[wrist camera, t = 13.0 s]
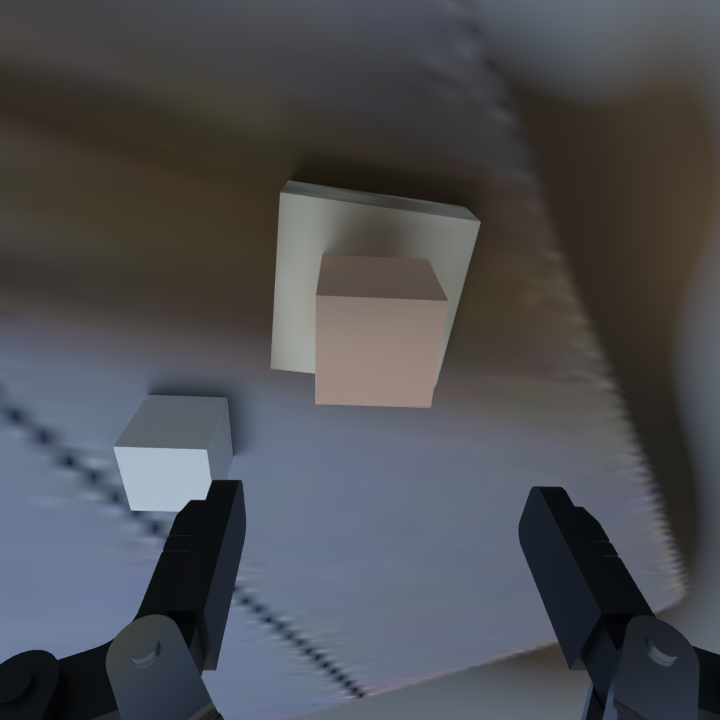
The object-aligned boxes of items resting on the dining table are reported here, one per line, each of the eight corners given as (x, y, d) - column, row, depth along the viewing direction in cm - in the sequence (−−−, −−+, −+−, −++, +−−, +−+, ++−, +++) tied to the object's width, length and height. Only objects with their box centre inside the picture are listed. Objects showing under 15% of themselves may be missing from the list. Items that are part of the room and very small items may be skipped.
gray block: (279, 337, 30) (270, 368, 27) (289, 179, 25) (280, 192, 22) (425, 354, 31) (435, 386, 28) (463, 204, 26) (480, 221, 23)
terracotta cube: (321, 347, 26) (315, 404, 21) (322, 254, 23) (315, 295, 19) (415, 351, 26) (430, 407, 22) (428, 259, 24) (448, 300, 19)
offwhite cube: (160, 453, 35) (131, 510, 30) (148, 394, 32) (113, 446, 27) (233, 455, 35) (215, 512, 30) (227, 396, 32) (206, 449, 27)
